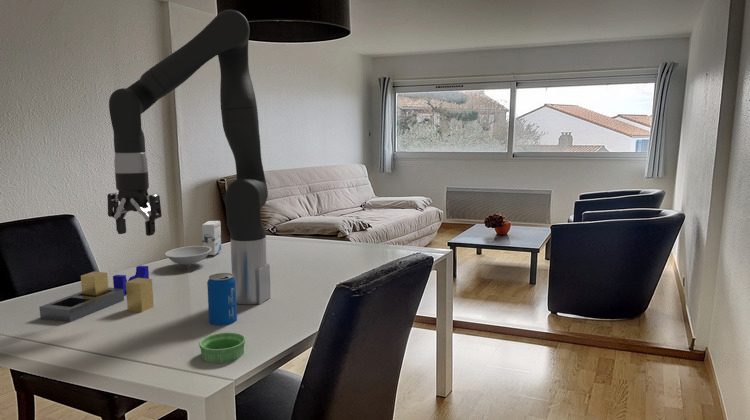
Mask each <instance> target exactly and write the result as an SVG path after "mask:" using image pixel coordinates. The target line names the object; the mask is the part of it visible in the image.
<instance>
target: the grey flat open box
mask: <svg viewBox="0 0 750 420" xmlns="http://www.w3.org/2000/svg"><path fill="white" fill-rule="evenodd" d="M108 289H109V293H106V294H103V295H101V296H98V297H88V296H82V291H80V292H76V293H73V294H71V295H68V296H66V297H63V298H60V299H57V300H54V301H51V302H49V303H46V304H43V305H41V306H40V305H39V315H40V316H39V317H40V318H39V319H40V320H44V319H46V320H47V321H53V320H54V322H65V323H71V322H74V321H77V320H79V319H82V318H84V317H87V316H90V315H92V314H94V313H98V312H99V311H101V310H105V309H106V308H109V307H112V306H114V305H117V304H119V303H122V302H123V301H125V296H124V292H123V289H120V288H114V287H109V286H108ZM46 320H45V321H46Z"/></svg>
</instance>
